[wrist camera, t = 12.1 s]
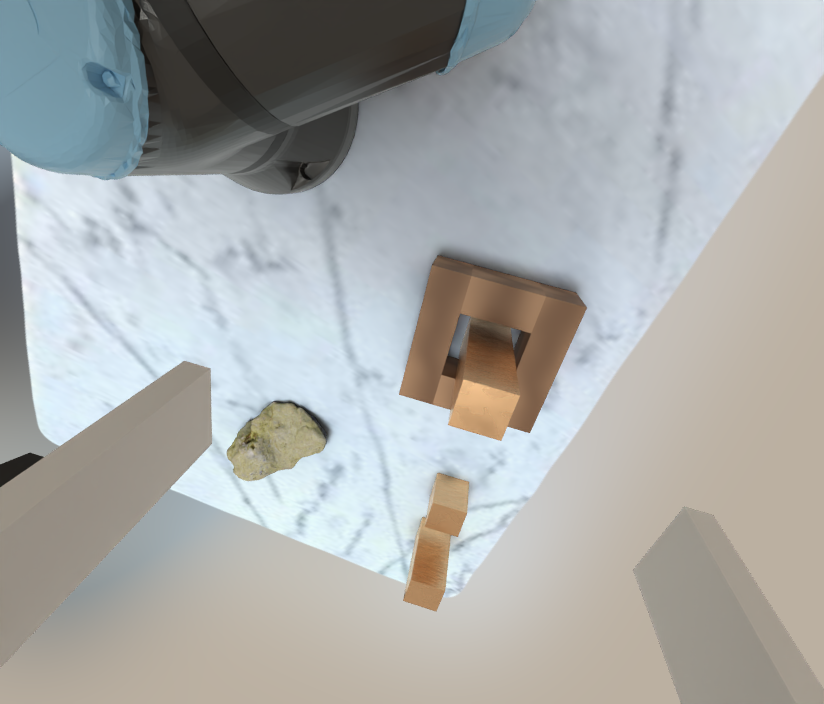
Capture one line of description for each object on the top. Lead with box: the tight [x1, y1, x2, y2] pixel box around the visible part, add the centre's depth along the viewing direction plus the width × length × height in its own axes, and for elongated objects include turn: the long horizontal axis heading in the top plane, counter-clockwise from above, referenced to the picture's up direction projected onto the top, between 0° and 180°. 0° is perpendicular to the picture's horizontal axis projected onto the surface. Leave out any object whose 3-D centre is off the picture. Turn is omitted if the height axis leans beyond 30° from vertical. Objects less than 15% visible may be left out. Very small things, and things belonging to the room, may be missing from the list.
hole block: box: [399, 255, 587, 433], centre depth 39 cm, size 14×14×4 cm
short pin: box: [425, 473, 469, 537], centre depth 48 cm, size 4×4×5 cm
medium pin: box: [403, 517, 451, 611], centre depth 49 cm, size 4×4×9 cm
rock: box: [227, 402, 327, 481], centre depth 48 cm, size 11×6×10 cm
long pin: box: [448, 316, 520, 441], centre depth 34 cm, size 4×4×14 cm
